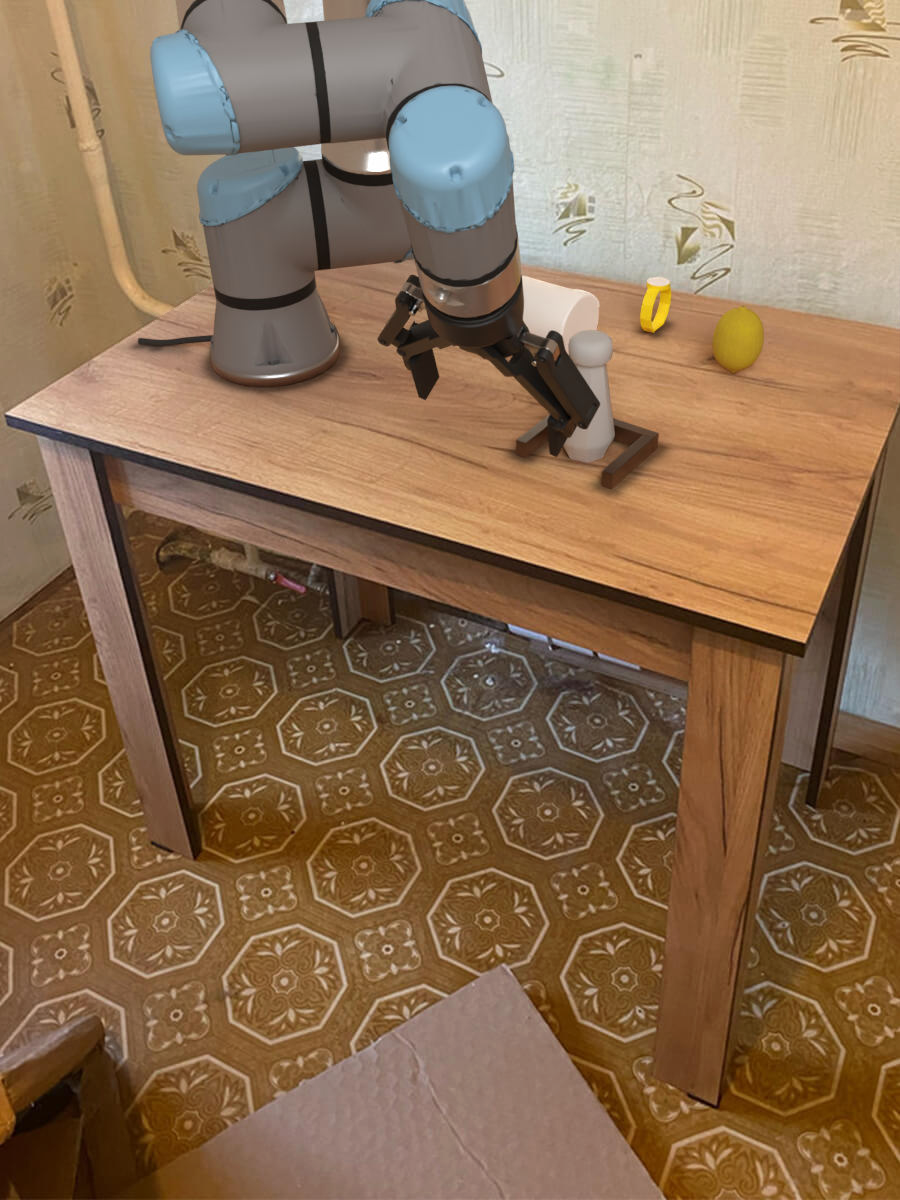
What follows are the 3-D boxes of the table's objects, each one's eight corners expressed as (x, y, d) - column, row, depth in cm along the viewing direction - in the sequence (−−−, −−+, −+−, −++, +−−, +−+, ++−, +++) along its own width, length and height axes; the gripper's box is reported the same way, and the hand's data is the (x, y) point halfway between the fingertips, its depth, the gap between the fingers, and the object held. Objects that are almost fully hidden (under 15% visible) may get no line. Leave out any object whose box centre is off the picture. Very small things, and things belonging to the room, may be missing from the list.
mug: (560, 374, 127) (562, 309, 122) (490, 351, 132) (489, 288, 127) (616, 335, 134) (620, 272, 129) (548, 314, 139) (549, 253, 134)
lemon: (737, 389, 123) (746, 322, 117) (698, 372, 126) (706, 306, 121) (768, 372, 125) (779, 306, 120) (730, 356, 129) (738, 291, 123)
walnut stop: (515, 454, 114) (516, 439, 113) (564, 416, 120) (564, 402, 118) (611, 489, 108) (612, 474, 107) (657, 447, 114) (659, 432, 113)
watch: (654, 340, 132) (658, 293, 129) (632, 335, 134) (636, 288, 130) (674, 320, 136) (679, 274, 132) (653, 316, 137) (657, 270, 134)
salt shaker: (545, 454, 114) (548, 338, 106) (578, 431, 117) (583, 316, 109) (591, 473, 111) (598, 355, 102) (624, 449, 114) (633, 333, 106)
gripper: (302, 260, 84) (357, 397, 104) (601, 382, 77) (598, 502, 97) (351, 184, 85) (396, 333, 105) (648, 297, 79) (635, 433, 99)
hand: (493, 415), depth 101 cm, fingers open, 13 cm apart
